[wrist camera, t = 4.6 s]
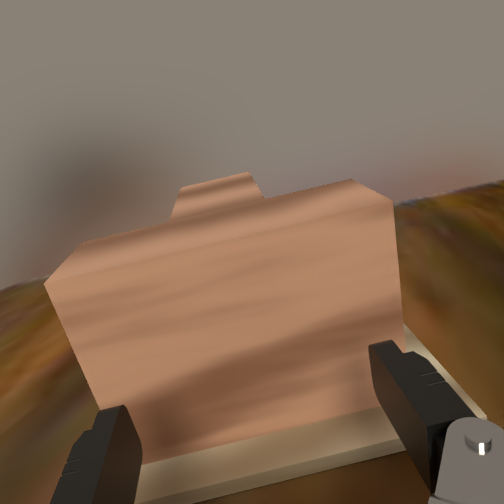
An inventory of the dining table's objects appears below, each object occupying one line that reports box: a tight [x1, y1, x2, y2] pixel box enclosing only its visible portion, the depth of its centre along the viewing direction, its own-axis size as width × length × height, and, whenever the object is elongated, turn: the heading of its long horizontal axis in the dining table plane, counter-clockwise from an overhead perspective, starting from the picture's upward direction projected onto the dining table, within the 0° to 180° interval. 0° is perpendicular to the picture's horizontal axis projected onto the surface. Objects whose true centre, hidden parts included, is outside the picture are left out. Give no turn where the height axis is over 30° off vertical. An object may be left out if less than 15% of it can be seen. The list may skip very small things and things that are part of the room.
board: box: [134, 324, 487, 504], centre depth 31 cm, size 29×19×1 cm, turn 6°
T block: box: [44, 172, 406, 465], centre depth 24 cm, size 14×14×10 cm
